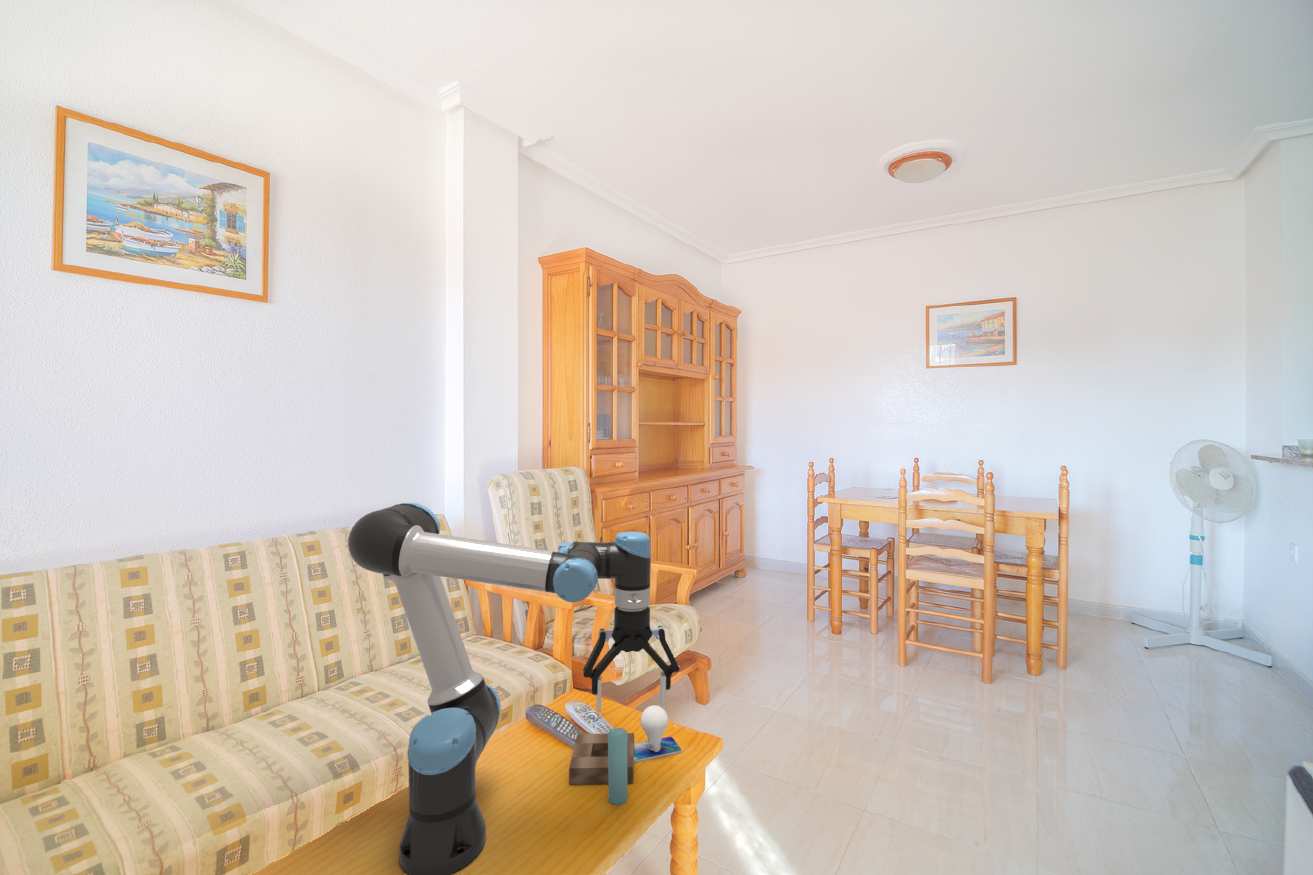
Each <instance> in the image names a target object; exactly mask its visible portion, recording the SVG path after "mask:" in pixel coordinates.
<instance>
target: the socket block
mask: <svg viewBox="0 0 1313 875" xmlns="http://www.w3.org/2000/svg"><path fill="white" fill-rule="evenodd" d="M634 744H635V733H634V732H627V785H628V784H634V764H635V763H634ZM571 754H572V755H571V759H570V763H569V768H568V770H569V772H568V777H569V778H568V782H569V783H568V785H608V732H607V733H577V734H576V737H575V741H574V746H573V750H572V753H571Z"/></svg>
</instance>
